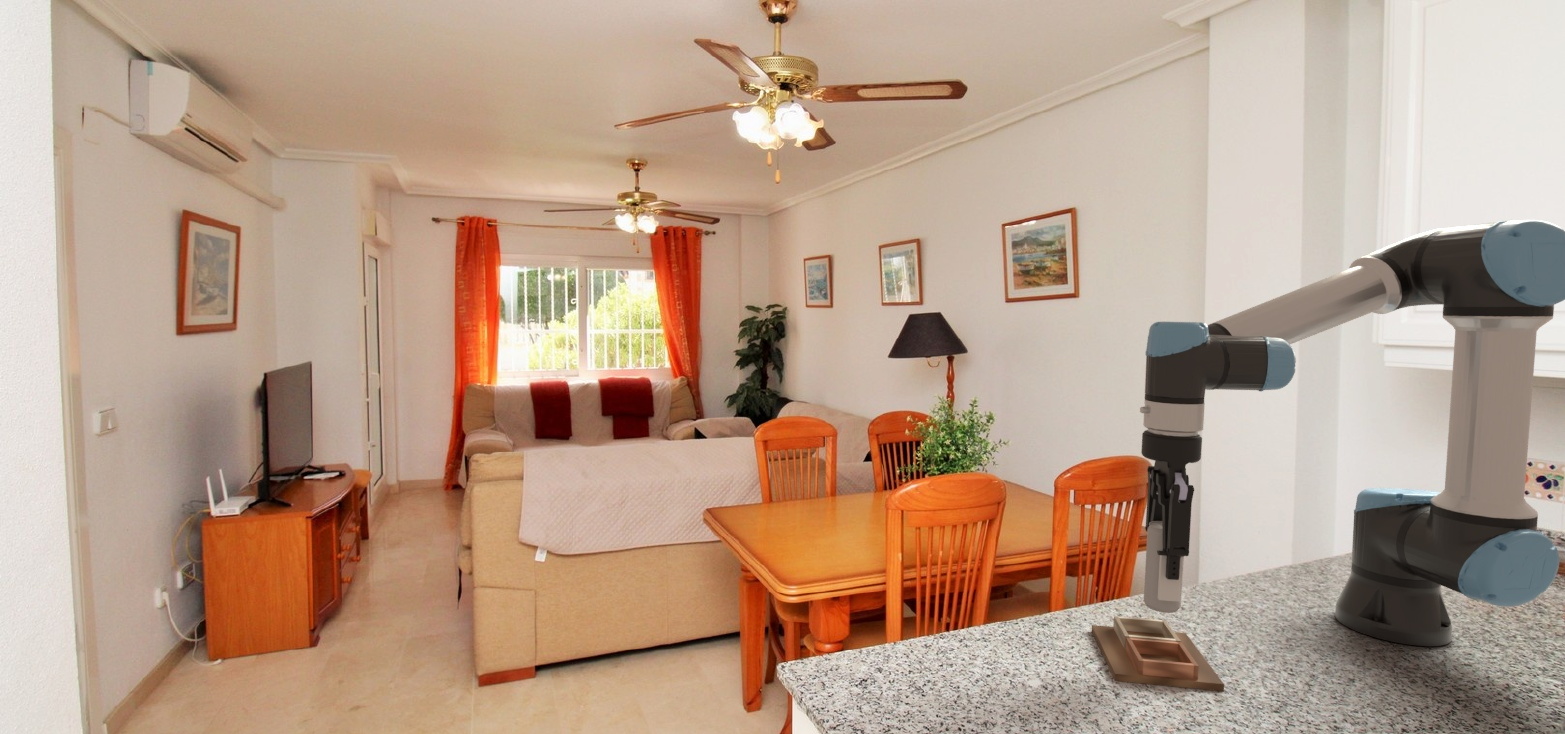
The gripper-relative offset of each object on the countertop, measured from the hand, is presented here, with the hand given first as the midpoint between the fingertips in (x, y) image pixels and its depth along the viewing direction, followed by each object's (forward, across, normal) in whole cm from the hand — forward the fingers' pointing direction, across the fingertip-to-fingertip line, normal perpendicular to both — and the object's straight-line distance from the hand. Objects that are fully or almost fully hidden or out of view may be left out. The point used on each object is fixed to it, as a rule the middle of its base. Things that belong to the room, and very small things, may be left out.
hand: (1163, 592), depth 111 cm
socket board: (+12, -4, 0) cm, 12 cm away
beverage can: (+2, 0, 0) cm, 2 cm away
